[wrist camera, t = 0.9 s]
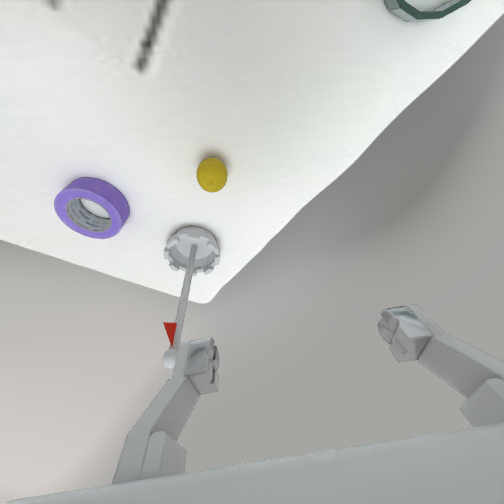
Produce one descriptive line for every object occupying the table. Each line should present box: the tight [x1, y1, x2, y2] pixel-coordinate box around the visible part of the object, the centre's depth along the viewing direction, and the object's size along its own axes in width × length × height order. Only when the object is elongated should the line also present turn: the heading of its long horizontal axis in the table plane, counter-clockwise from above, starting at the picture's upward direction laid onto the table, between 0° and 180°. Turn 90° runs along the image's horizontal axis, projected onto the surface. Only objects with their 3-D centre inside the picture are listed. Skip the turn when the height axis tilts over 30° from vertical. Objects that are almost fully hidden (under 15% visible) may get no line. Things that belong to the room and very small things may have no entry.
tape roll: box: [54, 177, 130, 239], centre depth 45 cm, size 12×12×5 cm
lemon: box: [197, 158, 227, 192], centre depth 40 cm, size 6×6×8 cm
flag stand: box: [162, 227, 220, 369], centre depth 46 cm, size 13×13×30 cm
